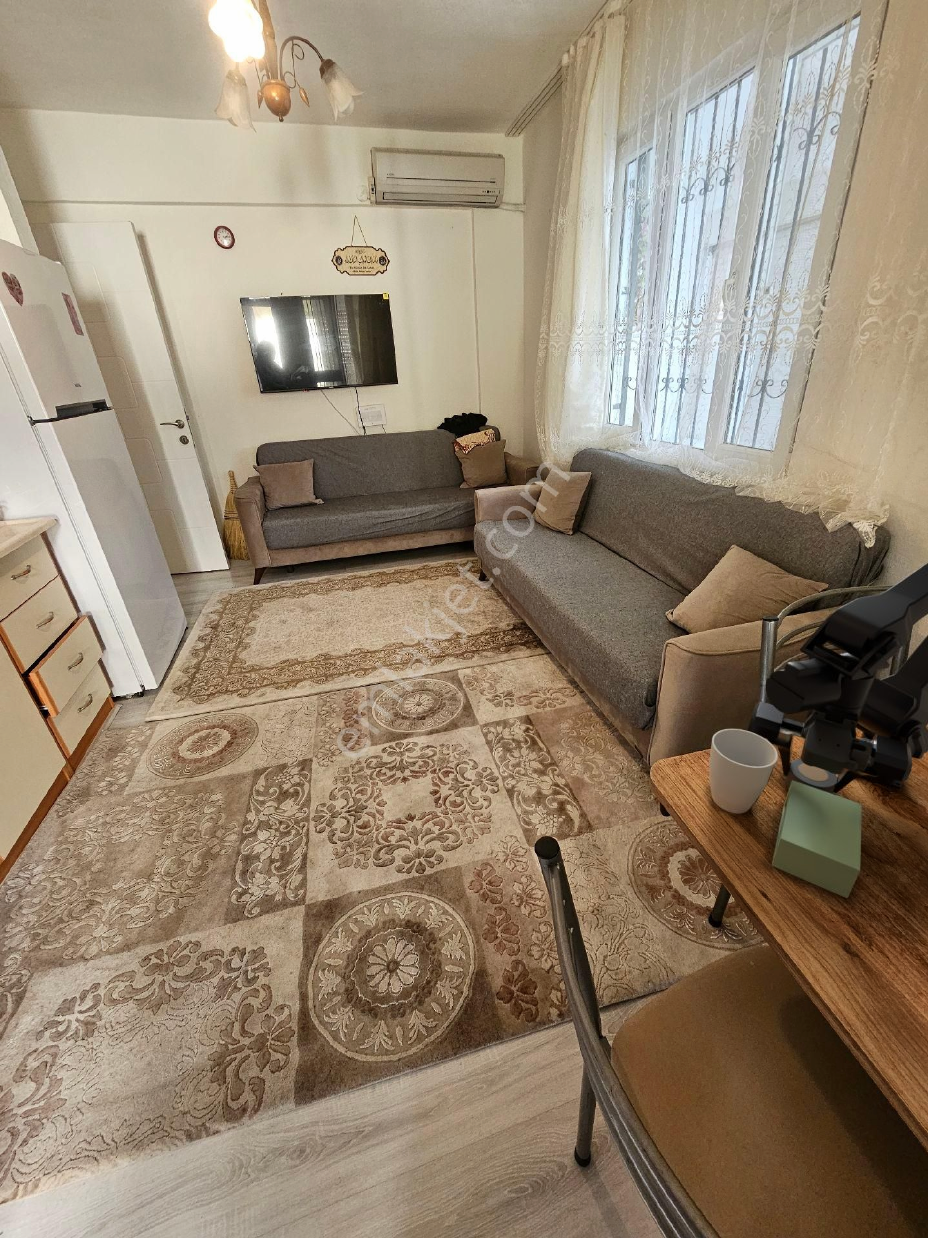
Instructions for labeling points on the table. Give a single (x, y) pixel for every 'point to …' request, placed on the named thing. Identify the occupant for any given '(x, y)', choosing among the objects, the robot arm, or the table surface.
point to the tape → (810, 776)
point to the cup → (739, 768)
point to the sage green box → (820, 838)
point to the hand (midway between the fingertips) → (809, 782)
